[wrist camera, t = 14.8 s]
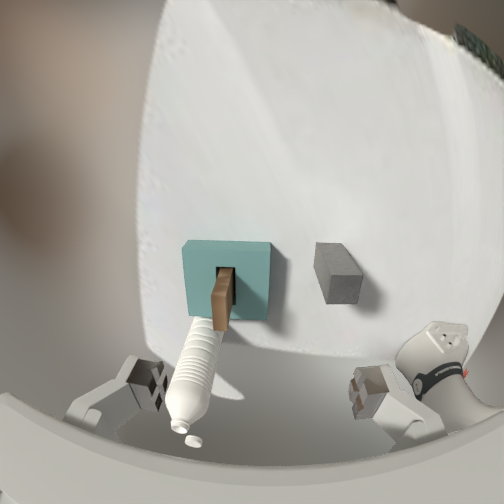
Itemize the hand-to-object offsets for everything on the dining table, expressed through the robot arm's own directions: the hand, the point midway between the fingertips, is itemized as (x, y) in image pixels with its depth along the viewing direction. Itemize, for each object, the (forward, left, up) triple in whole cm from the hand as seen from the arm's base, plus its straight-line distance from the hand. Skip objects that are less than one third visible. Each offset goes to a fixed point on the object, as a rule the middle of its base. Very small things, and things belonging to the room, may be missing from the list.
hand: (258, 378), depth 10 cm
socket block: (+6, +14, -35) cm, 38 cm away
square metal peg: (-11, +9, -35) cm, 38 cm away
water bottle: (+10, +26, -35) cm, 45 cm away
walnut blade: (+6, +14, -35) cm, 38 cm away
